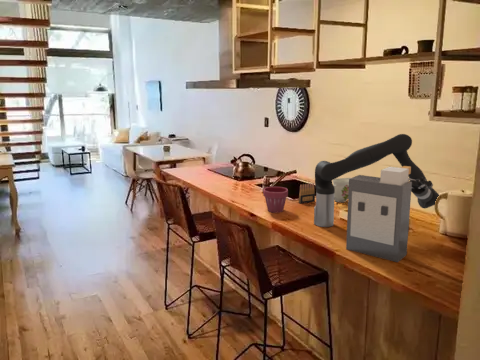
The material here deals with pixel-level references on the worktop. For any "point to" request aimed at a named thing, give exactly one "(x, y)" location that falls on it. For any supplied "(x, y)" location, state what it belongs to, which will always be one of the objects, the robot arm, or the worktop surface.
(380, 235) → the box
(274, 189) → the plant pot
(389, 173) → the block
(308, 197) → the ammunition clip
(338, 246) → the worktop surface
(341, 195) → the pitcher
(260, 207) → the worktop surface
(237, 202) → the worktop surface
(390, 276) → the worktop surface
